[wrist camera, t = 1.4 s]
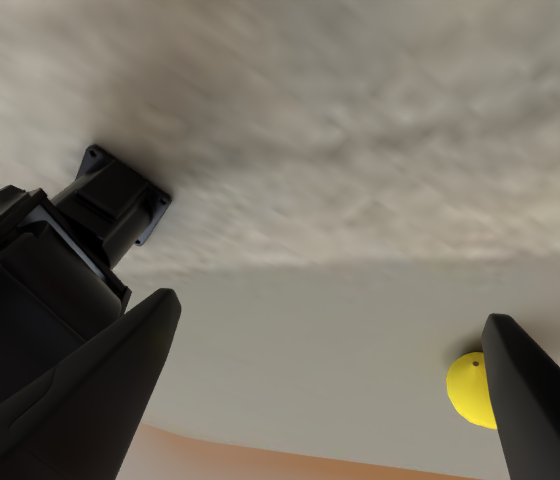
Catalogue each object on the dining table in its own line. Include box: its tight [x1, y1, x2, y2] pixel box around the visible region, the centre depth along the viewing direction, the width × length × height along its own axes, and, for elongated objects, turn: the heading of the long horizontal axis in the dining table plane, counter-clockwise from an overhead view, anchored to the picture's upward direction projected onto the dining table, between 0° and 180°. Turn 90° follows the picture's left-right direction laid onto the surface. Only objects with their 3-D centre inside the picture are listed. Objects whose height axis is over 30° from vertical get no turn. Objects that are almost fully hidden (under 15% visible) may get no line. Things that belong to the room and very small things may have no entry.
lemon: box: [446, 352, 497, 429], centre depth 28 cm, size 7×5×5 cm
